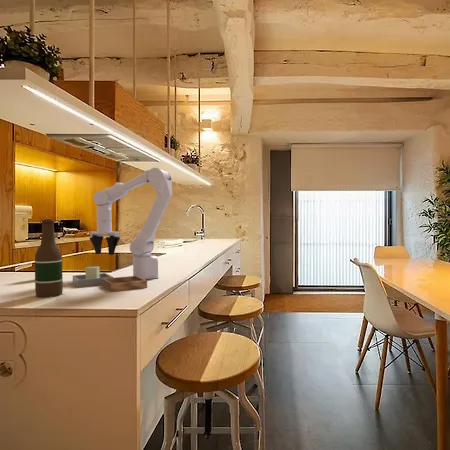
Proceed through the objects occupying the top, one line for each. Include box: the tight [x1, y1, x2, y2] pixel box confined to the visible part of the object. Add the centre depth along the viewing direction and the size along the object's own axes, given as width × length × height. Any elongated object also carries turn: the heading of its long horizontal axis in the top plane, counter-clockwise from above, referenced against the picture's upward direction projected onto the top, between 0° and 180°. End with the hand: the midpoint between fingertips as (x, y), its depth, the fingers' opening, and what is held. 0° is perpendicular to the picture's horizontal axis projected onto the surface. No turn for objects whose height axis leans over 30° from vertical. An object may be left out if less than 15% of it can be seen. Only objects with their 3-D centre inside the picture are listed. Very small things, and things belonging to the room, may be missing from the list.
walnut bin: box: [102, 275, 148, 292], centre depth 129 cm, size 12×12×2 cm
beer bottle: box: [34, 218, 64, 299], centre depth 116 cm, size 8×8×24 cm
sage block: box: [85, 265, 101, 279], centre depth 137 cm, size 4×4×6 cm
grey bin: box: [72, 272, 114, 288], centre depth 137 cm, size 12×12×2 cm
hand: (104, 254), depth 150 cm, fingers open, 7 cm apart
